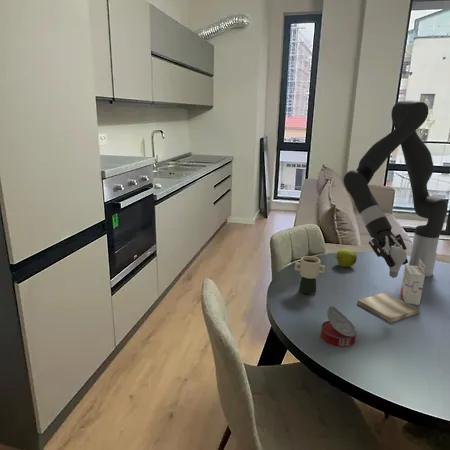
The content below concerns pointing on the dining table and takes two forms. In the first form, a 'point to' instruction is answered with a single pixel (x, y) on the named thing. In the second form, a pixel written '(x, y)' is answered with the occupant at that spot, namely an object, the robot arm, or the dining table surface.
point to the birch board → (388, 307)
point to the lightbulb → (397, 260)
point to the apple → (346, 257)
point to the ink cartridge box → (413, 283)
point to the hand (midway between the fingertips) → (399, 264)
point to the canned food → (338, 329)
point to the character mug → (309, 273)
